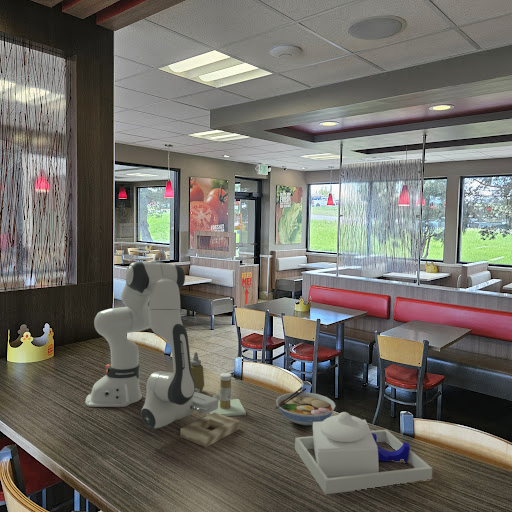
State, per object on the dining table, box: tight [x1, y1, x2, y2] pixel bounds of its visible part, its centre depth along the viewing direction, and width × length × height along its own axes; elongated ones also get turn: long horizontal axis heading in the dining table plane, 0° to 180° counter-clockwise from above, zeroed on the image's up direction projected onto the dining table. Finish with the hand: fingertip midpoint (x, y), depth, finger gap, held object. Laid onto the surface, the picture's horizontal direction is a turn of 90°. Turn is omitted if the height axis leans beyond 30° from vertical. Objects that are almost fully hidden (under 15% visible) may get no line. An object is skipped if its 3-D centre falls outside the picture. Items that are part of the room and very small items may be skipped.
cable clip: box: [372, 433, 411, 463], centre depth 145 cm, size 12×4×6 cm, turn 79°
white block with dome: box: [312, 411, 380, 478], centre depth 141 cm, size 18×18×16 cm
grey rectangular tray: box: [294, 429, 433, 495], centre depth 142 cm, size 34×26×4 cm
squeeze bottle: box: [190, 351, 205, 394], centre depth 198 cm, size 8×8×18 cm
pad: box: [208, 398, 247, 417], centre depth 182 cm, size 14×14×1 cm
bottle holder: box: [179, 412, 240, 448], centre depth 160 cm, size 18×12×3 cm, turn 144°
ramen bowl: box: [274, 386, 336, 426], centre depth 172 cm, size 25×23×8 cm
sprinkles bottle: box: [219, 372, 232, 409], centre depth 181 cm, size 5×5×14 cm
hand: (207, 393), depth 172 cm, fingers open, 8 cm apart
